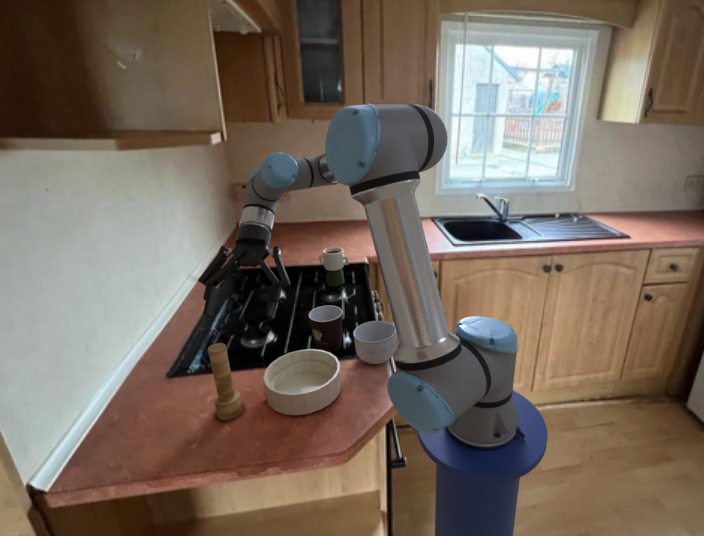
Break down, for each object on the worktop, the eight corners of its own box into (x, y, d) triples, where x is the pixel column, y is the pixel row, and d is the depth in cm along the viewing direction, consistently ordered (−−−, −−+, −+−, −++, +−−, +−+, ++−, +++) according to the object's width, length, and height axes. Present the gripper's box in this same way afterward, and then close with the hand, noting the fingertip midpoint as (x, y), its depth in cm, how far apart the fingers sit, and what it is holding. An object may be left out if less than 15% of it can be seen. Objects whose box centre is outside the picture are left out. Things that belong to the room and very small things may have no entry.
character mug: (353, 282, 148) (351, 248, 144) (346, 290, 142) (343, 255, 137) (325, 279, 151) (322, 246, 146) (317, 287, 144) (313, 252, 140)
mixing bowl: (355, 381, 96) (354, 360, 94) (309, 428, 82) (306, 404, 80) (301, 363, 103) (299, 342, 100) (251, 403, 89) (246, 380, 87)
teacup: (366, 375, 98) (365, 346, 95) (347, 353, 106) (345, 326, 104) (415, 356, 105) (415, 329, 102) (394, 337, 114) (393, 312, 111)
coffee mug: (350, 349, 108) (347, 315, 105) (318, 359, 104) (315, 325, 101) (333, 329, 118) (331, 298, 114) (304, 338, 113) (300, 306, 110)
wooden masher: (247, 408, 88) (235, 344, 82) (228, 423, 84) (214, 356, 78) (231, 401, 90) (218, 338, 84) (212, 415, 86) (197, 350, 80)
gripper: (310, 237, 102) (299, 320, 93) (211, 236, 103) (191, 319, 94) (302, 222, 95) (289, 311, 86) (196, 222, 96) (172, 309, 87)
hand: (238, 315), depth 90 cm, fingers open, 13 cm apart
